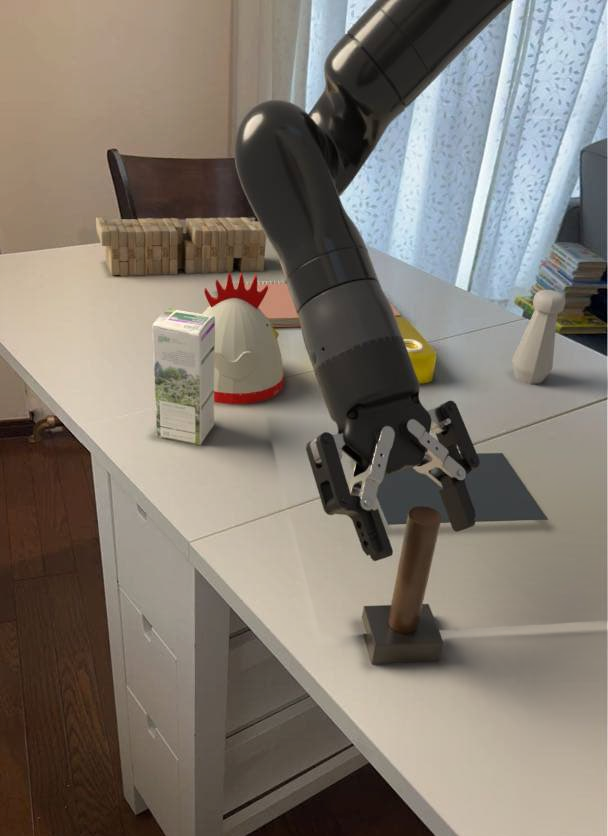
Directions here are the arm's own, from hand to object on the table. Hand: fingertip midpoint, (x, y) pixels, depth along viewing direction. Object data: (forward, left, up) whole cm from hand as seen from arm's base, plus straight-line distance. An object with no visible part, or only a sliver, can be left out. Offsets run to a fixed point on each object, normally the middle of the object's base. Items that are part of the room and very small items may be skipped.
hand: (425, 543), depth 63 cm
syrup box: (+17, -39, -12) cm, 44 cm away
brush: (0, -1, -12) cm, 12 cm away
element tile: (-11, -59, -12) cm, 61 cm away
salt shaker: (-34, -54, -12) cm, 65 cm away
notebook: (-5, -81, -12) cm, 82 cm away
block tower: (+15, -100, -12) cm, 102 cm away
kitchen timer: (+10, -53, -12) cm, 55 cm away
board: (-12, -24, -12) cm, 29 cm away
